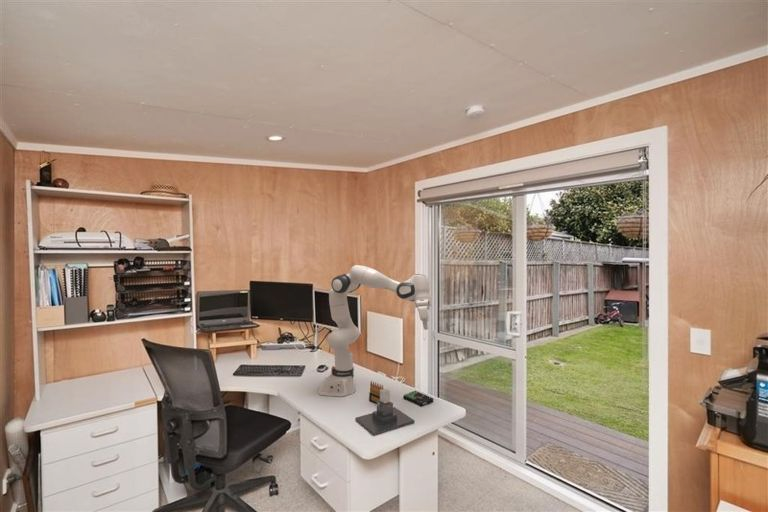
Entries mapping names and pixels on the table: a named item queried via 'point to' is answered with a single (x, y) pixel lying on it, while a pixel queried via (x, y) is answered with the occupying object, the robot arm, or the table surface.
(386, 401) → the column
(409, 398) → the disk drive
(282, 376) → the table surface
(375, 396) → the ammunition clip
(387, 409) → the metal stepped base
